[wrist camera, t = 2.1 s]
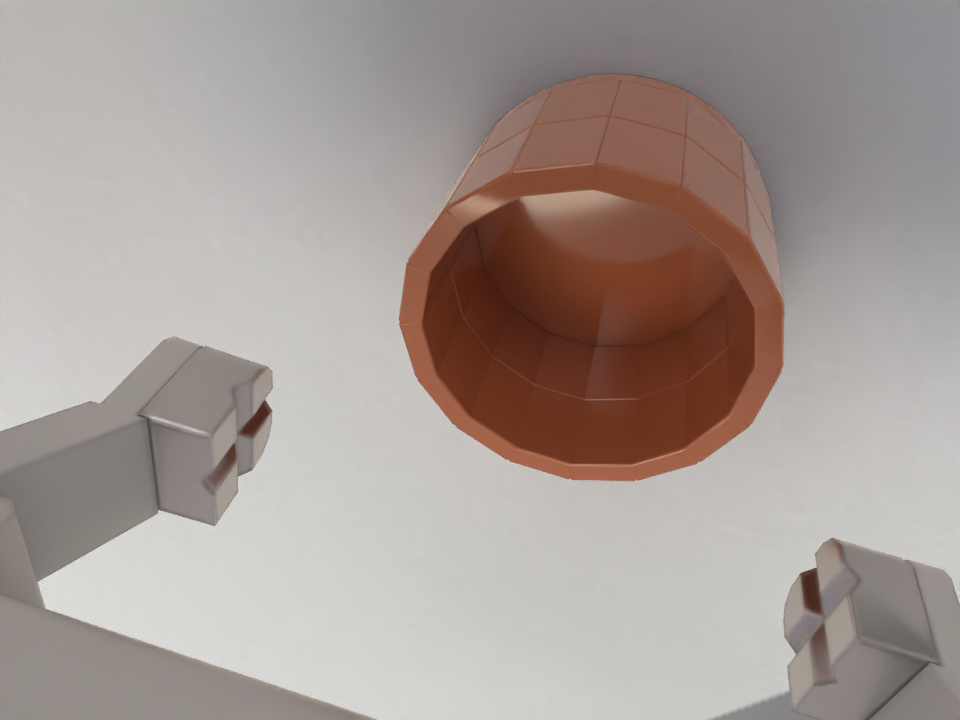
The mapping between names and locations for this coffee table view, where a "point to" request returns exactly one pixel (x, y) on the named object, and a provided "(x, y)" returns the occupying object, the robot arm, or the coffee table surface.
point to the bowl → (600, 284)
